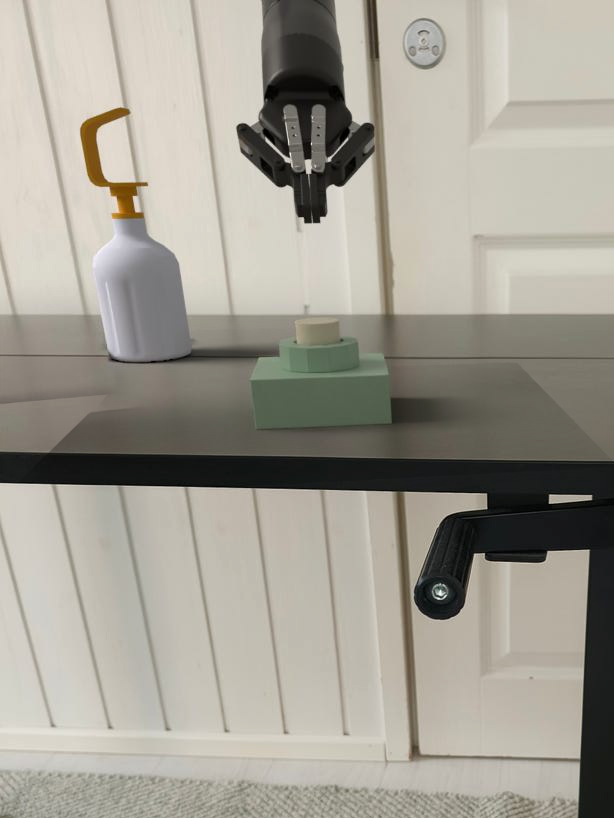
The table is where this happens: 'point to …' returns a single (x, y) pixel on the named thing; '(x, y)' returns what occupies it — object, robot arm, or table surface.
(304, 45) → the robot arm
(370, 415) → the dispenser
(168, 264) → the soap bottle
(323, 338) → the cylinder
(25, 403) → the table surface
